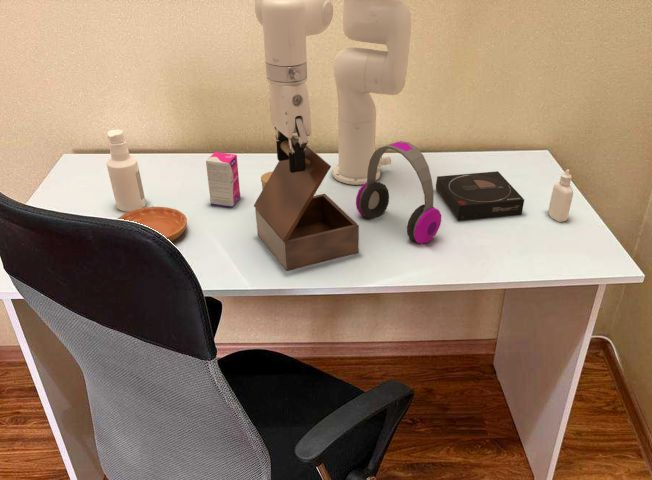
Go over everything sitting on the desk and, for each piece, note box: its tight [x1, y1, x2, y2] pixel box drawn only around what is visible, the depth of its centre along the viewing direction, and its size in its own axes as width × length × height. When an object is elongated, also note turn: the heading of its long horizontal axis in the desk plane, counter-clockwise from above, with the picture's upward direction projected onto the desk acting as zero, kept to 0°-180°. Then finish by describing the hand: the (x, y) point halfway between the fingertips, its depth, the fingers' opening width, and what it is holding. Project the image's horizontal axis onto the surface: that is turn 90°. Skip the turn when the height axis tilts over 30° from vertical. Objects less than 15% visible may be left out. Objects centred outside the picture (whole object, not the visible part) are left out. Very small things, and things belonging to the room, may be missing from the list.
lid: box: [253, 134, 332, 242], centre depth 134 cm, size 17×17×6 cm
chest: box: [254, 193, 360, 272], centre depth 144 cm, size 17×17×7 cm
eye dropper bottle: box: [547, 169, 574, 223], centre depth 156 cm, size 4×6×12 cm
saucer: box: [117, 206, 188, 243], centre depth 148 cm, size 16×16×3 cm
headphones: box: [355, 140, 442, 245], centre depth 147 cm, size 21×9×20 cm, turn 45°
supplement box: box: [205, 151, 241, 209], centre depth 158 cm, size 6×6×12 cm
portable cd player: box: [435, 170, 525, 222], centre depth 164 cm, size 16×17×4 cm
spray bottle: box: [106, 129, 147, 212], centre depth 153 cm, size 7×7×18 cm
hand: (291, 164), depth 132 cm, fingers closed on lid, 5 cm apart
